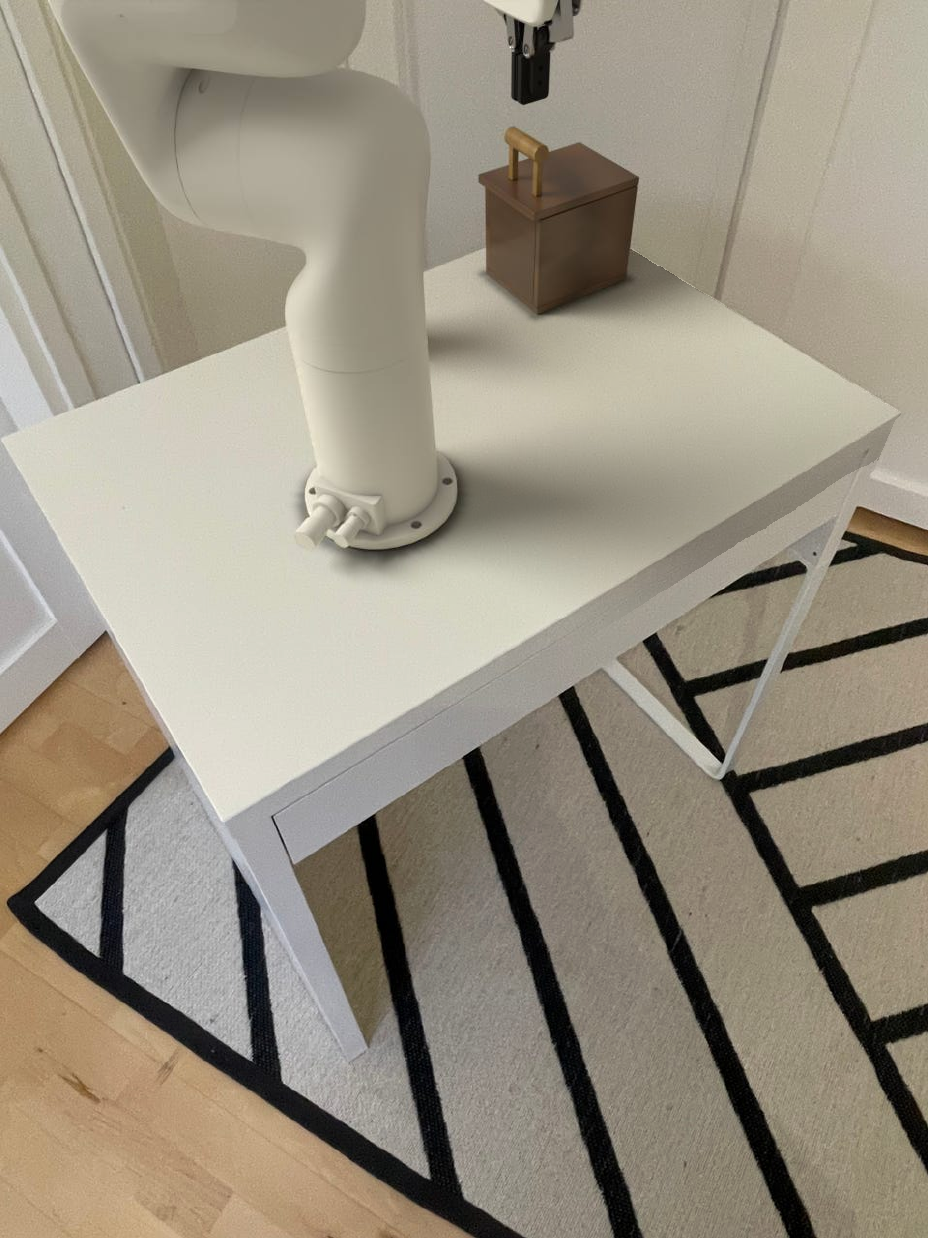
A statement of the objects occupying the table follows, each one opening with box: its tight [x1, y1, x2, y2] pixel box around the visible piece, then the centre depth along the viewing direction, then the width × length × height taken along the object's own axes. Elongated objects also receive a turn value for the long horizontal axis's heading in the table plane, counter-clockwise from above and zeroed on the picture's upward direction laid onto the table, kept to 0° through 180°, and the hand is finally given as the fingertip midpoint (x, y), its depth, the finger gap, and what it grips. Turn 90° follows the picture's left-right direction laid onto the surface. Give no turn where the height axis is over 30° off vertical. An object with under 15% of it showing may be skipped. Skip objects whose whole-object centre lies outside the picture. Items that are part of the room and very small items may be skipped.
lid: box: [477, 125, 640, 221], centre depth 82 cm, size 12×10×5 cm
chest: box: [484, 185, 639, 315], centre depth 88 cm, size 12×10×10 cm
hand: (529, 98), depth 80 cm, fingers closed
